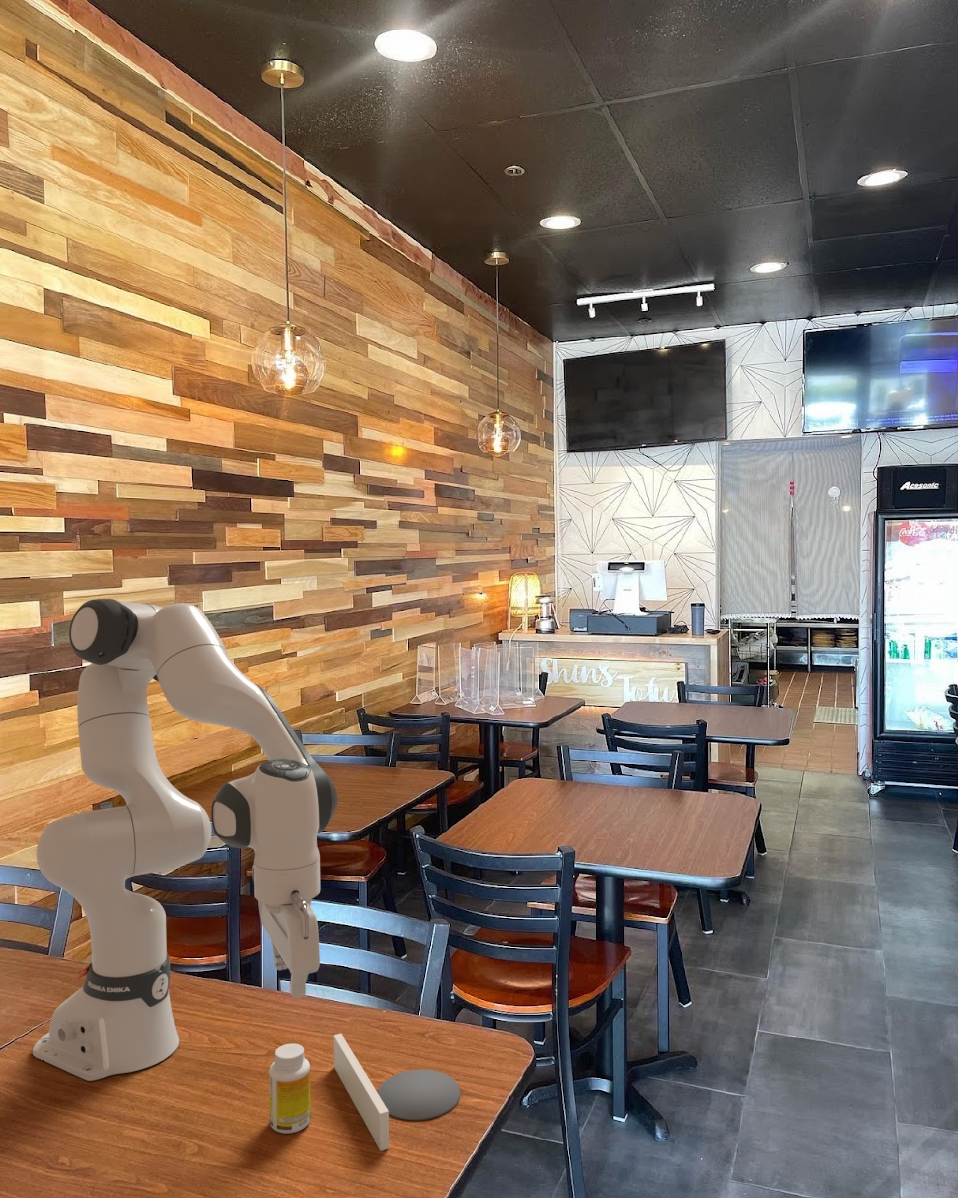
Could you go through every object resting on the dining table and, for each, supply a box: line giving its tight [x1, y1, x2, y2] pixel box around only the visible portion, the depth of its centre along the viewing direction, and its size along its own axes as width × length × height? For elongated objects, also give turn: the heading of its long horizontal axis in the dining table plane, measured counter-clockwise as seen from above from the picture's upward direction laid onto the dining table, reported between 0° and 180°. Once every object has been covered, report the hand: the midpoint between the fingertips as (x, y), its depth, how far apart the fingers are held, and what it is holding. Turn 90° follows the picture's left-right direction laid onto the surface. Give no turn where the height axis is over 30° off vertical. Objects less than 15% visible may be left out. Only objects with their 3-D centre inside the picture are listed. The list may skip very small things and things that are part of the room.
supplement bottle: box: [268, 1043, 312, 1135], centre depth 125 cm, size 6×6×10 cm
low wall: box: [333, 1033, 390, 1152], centre depth 130 cm, size 22×1×5 cm, turn 25°
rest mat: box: [377, 1069, 461, 1121], centre depth 132 cm, size 12×12×1 cm
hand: (289, 981), depth 125 cm, fingers open, 8 cm apart
